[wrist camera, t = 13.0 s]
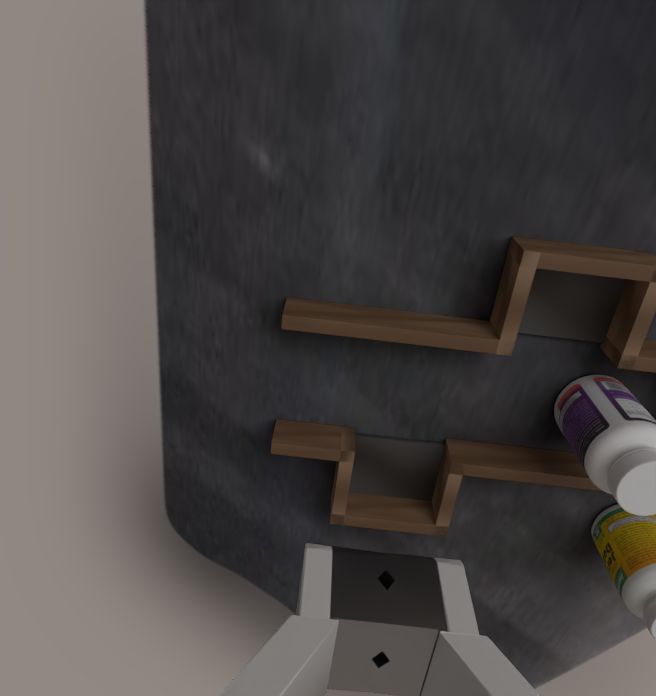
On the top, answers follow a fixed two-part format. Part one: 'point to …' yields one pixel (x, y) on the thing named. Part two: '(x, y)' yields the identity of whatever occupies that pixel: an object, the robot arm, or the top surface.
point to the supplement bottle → (630, 558)
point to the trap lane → (480, 336)
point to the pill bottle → (611, 439)
